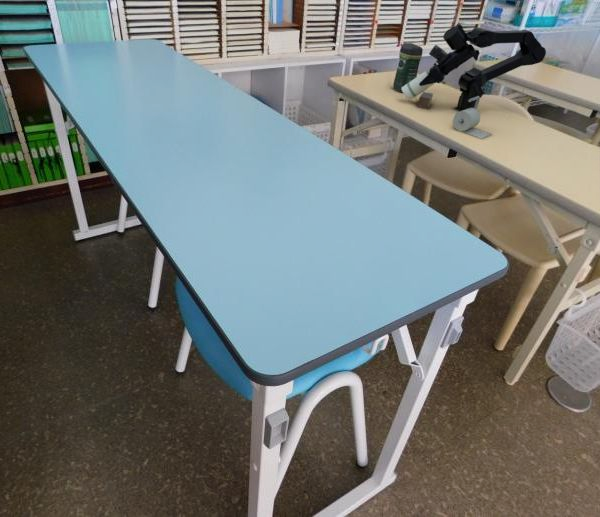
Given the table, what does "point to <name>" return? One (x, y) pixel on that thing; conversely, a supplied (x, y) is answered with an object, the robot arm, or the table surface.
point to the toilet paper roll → (469, 120)
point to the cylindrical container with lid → (415, 86)
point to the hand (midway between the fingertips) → (421, 83)
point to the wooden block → (425, 100)
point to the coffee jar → (407, 65)
